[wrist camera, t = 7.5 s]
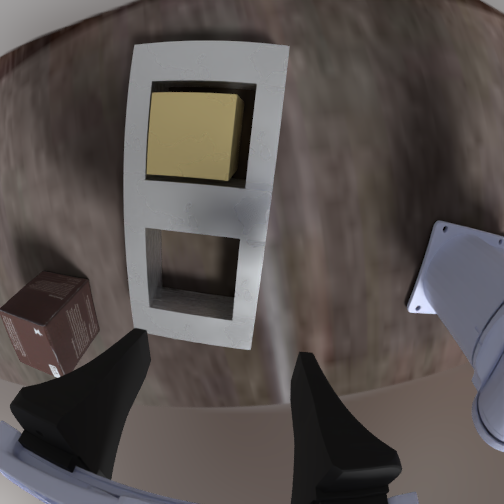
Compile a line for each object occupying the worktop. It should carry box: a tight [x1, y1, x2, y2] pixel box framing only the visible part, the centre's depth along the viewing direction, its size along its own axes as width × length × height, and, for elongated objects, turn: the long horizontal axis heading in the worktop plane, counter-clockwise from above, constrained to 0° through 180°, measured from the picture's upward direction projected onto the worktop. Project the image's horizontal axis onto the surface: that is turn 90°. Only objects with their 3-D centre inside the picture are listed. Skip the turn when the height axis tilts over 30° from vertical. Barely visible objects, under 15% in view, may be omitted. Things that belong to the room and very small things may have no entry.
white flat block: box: [124, 41, 290, 350], centre depth 18 cm, size 9×20×3 cm, turn 174°
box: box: [0, 271, 100, 377], centre depth 21 cm, size 6×6×7 cm
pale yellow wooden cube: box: [147, 92, 245, 181], centre depth 16 cm, size 4×4×4 cm
